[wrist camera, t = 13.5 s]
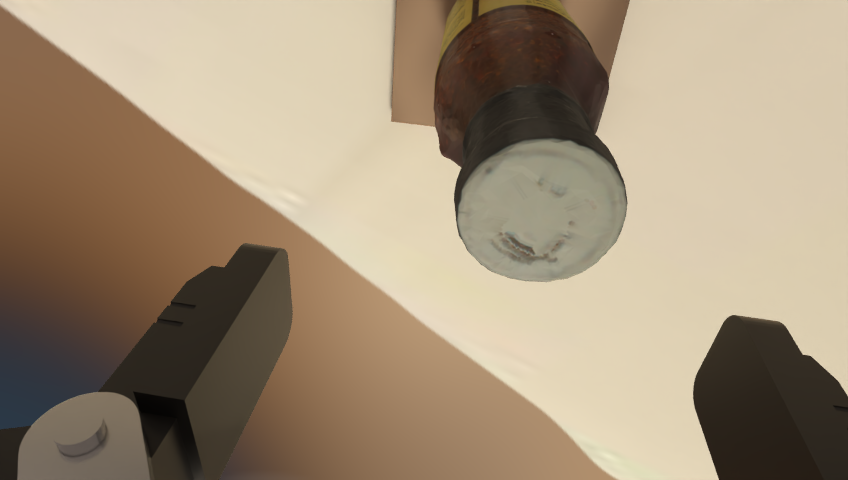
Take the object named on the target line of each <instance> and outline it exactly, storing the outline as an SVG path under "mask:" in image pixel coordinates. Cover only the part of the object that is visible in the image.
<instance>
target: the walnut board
mask: <svg viewBox="0 0 848 480" xmlns="http://www.w3.org/2000/svg"><path fill="white" fill-rule="evenodd" d="M559 1H560V2H561V4H562V5H563V7H564V8H565V10H566V11H567V12H568V14H569V15H570V16H571V18H572V19H573V20H574V22H575V23H576V24H577V26H578V27H579V28H580V29H581V31H582V32H583V33H584V35H585V36H586V38H587V39H588V41H589V43H590V45H591V47H592V48H593V50H594V53H595V55H596V57H597V59H598V60H599V61H600V63H601V64H602V66H603V67H604V69H605V70H606V72H607V74H608V79H609V76H610V72H611V69H612V65H613V61H614V57H615V54H616V50H617V46H618V42H619V39H620V35H621V31H622V27H623V24H624V20H625V16H626V12H627V9H628V5H629V1H630V0H559ZM456 2H457V0H397V3H396V26H395V49H394V72H393V95H392V117H391V121H392V122H401V123H409V124H417V125H425V126H433V127H435V112H434V109H433V108H434V85H435V76H436V71H437V66H438V61H439V57H440V52H441V47H442V41H443V35H444V31H445V26H446V21H447V18H448V16H449V14H450V12H451V10H452V8H453V6H454V5H455V3H456Z"/></svg>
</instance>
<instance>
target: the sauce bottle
mask: <svg viewBox="0 0 848 480" xmlns="http://www.w3.org/2000/svg"><path fill="white" fill-rule="evenodd" d="M608 90H609V79H608V74H607V72H606V70H605V69H604V67H603V66H602V64H601V63H600V61H599V60H598V59H597V57H596V55H595V53H594V50H593V48H592V47H591V45H590V43H589V41H588V39H587V38H586V36H585V35H584V33H583V32H582V31H581V29H580V28H579V27H578V26H577V24H576V23H575V22H574V20H573V19H572V18H571V16H570V15H569V14H568V12H567V11H566V10H565V8H564V7H563V5H562V4H561V2H560V1H559V0H457V2H456V3H455V5H454V6H453V8H452V10H451V12H450V14H449V16H448V18H447V21H446V26H445V31H444V35H443V41H442V47H441V52H440V57H439V61H438V66H437V71H436V76H435V85H434V108H433V109H434V112H435V127H436V130H437V133H438V137H439V144H440V146H439V148H440V151H441V154H442V155H443V156H444V157H446V158H449V159H451V160H452V161H454V162H455V163H456V164H458V165H459V166H460V167H461V171H460V173H459V176H458V178H457V182H456V187H455V193H454V203H455V211H456V222H457V228H458V232H459V236H460V237H461V239H462V240H463V242H464V244H465V246H466V248H467V250H468V252H469V253H470V254H471V255H473V256H474V257H475V258H476V260H477V261H478V262H479V263H480V264H481V265H483V266H484V267H486V268H487V269H488V270H490V271H492V272H494V273H497V274H500V275H503V276H506V277H508V278H512V279H517V280H523V281H538V282H550V281H554V280H559V279H567V278H569V277H572V276H574V275H576V274H579V273H581V272H583V271H585V270H586V269H588V268H590V267H591V266H593V265H594V264H595V263H597V262H598V261H599V260H600V258H601V257H602V256H604V255H605V254H606V253H607V251H608V250H609V249H610V248H611V247H612V246H613V245H614V244H615V243H616V241H617V239H618V236H619V234H620V232H621V230H622V227H623V224H624V220H625V217H626V210H627V196H626V189H625V184H624V181H623V178H622V176H621V174H620V171H619V169H618V167H617V164H616V162H615V159H614V158H613V156H612V154H611V153H610V151H609V149H608V148H607V146H606V145H605V144H603V143H602V141H601V140H600V139H599V138H598V137H597V136H596V135H595V134H596V131H597V129H598V126H599V122H600V119H601V115H602V112H603V109H604V105H605V102H606V98H607V95H608Z"/></svg>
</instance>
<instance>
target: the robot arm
mask: <svg viewBox="0 0 848 480" xmlns="http://www.w3.org/2000/svg"><path fill="white" fill-rule="evenodd" d="M291 323H292V300H291V288H290V275H289V264H288V255H287V252H286V250H285V249H282V248H275V247H268V246H261V245H254V244H247V243H245V244H243V245H241V246H240V247H239V249H238V250H237V251H236V253H235V254H234V255H233V257H232V258H231V259H230V261H229V262H228V263H227V265H226V266H225V267H216V266H211V267H209V268H208V269H206V270H204V271H203V272H201V273H200V274H198V275H197V276H195V277H193V278H192V279H190V280H189V281H187V282H186V284H185V285H184V286H183V287H182V288H181V290H180V291H179V292H178V293H177V295H176V296H175V297H174V299H173V300H172V301H171V305H170V306H167V307H166V308H165V310H164V311H163V312H162V313H161V315H160V316H159V317H158V320H157V323H153V325H152V326H151V327H150V328H149V329H148V331H147V332H146V333H145V334H144V336H143V337H142V338H141V339H140V341H139V342H138V343H137V344H136V346H135V347H134V348H133V349H132V351H131V352H130V353H129V354H128V356H127V357H126V358H125V359H124V361H123V362H122V363H121V364H120V366H119V367H118V368H117V369H116V370H115V372H114V373H113V374H112V375H111V377H110V378H109V379H108V380H107V382H106V383H105V384H104V385H103V387H102V388H101V389H100V390H99V391H98V392H95V393H88V394H85V395H80V396H77V397H74V398H71V399H69V400H67V401H65V402H62V403H60V404H58V405H57V406H55V407H54V408H52V409H50V410H49V411H48V412H46V413H45V414H44V415H42V416H41V417H40V418H39V419H38V420H37V421H36V422H35V423H34V424H33V425H32V426H26V427H18V428H9V429H1V430H0V480H219V479H220V477H221V475H222V473H223V471H224V469H225V467H226V465H227V462H228V461H229V459H230V457H231V454H232V453H233V450H234V448H235V446H236V444H237V442H238V440H239V438H240V436H241V434H242V432H243V430H244V428H245V426H246V424H247V422H248V420H249V418H250V416H251V414H252V412H253V410H254V407H255V405H256V403H257V401H258V399H259V397H260V395H261V393H262V391H263V389H264V387H265V385H266V383H267V381H268V379H269V377H270V375H271V372H272V371H273V369H274V366H275V364H276V362H277V360H278V358H279V356H280V354H281V352H282V350H283V348H284V346H285V344H286V342H287V339H288V336H289V332H290V328H291ZM693 399H694V406H695V410H696V413H697V416H698V419H699V422H700V425H701V428H702V431H703V433H704V436H705V439H706V442H707V445H708V448H709V451H710V454H711V457H712V460H713V463H714V466H715V469H716V472H717V475H718V478H719V480H848V396H847V394H846V393H845V391H844V390H843V388H842V387H841V385H840V383H839V382H838V381H837V380H836V379H835V378H834V377H833V376H832V375H831V374H830V373H829V372H827V371H826V370H825V369H824V368H823V367H822V366H821V365H820V364H819V363H818V362H817V361H815V360H814V359H813V358H812V357H811V356H808V355H802V353H801V351H800V350H799V348H798V346H797V345H796V343H795V341H794V340H793V338H792V336H791V335H790V333H789V331H788V330H787V328H786V327H785V326H784V325H783V324H782V323H780V322H778V321H772V320H765V319H758V318H751V317H744V316H737V315H732V316H729V317H728V318H727V319H726V320H725V321H724V323H723V325H722V327H721V328H720V330H719V332H718V334H717V336H716V338H715V340H714V342H713V344H712V346H711V348H710V350H709V352H708V353H707V355H706V357H705V359H704V361H703V363H702V365H701V367H700V369H699V371H698V373H697V375H696V378H695V382H694V390H693Z"/></svg>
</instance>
